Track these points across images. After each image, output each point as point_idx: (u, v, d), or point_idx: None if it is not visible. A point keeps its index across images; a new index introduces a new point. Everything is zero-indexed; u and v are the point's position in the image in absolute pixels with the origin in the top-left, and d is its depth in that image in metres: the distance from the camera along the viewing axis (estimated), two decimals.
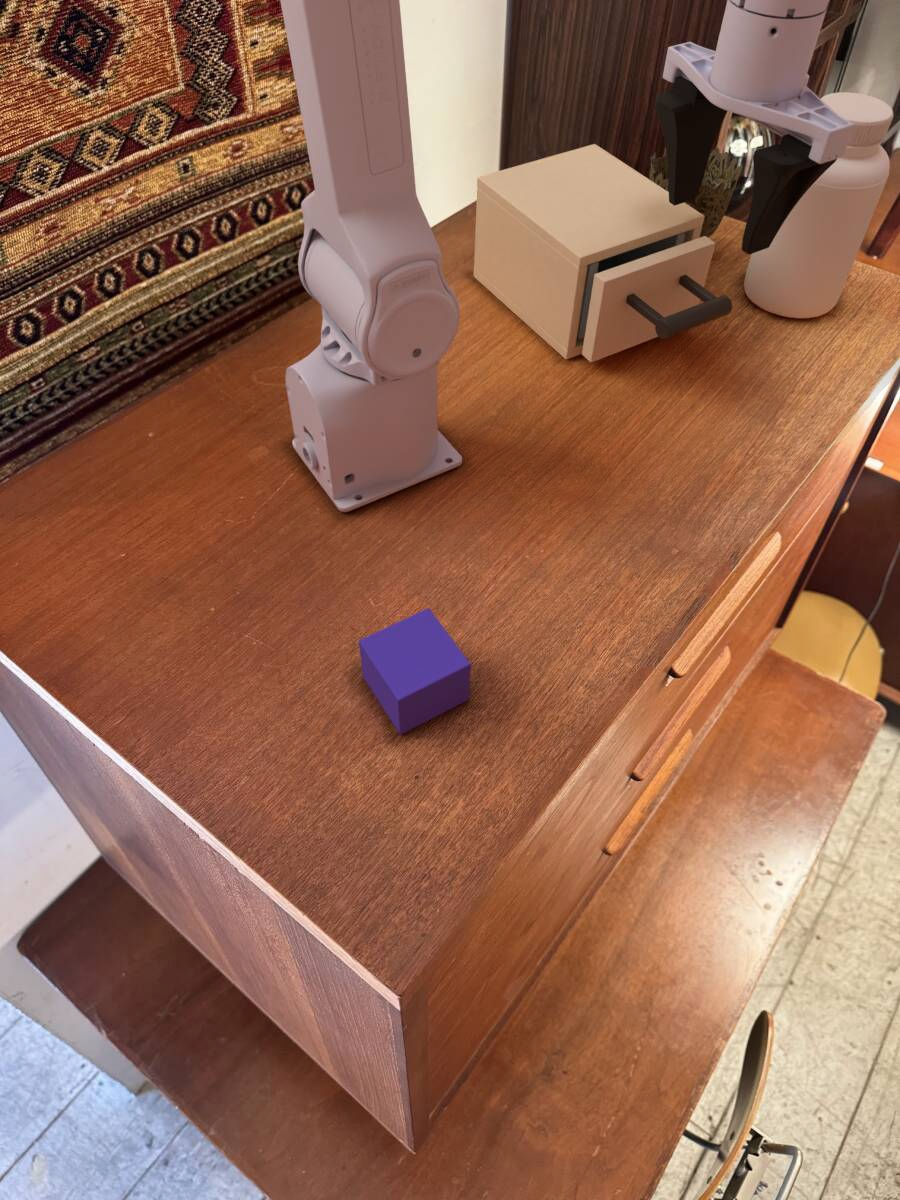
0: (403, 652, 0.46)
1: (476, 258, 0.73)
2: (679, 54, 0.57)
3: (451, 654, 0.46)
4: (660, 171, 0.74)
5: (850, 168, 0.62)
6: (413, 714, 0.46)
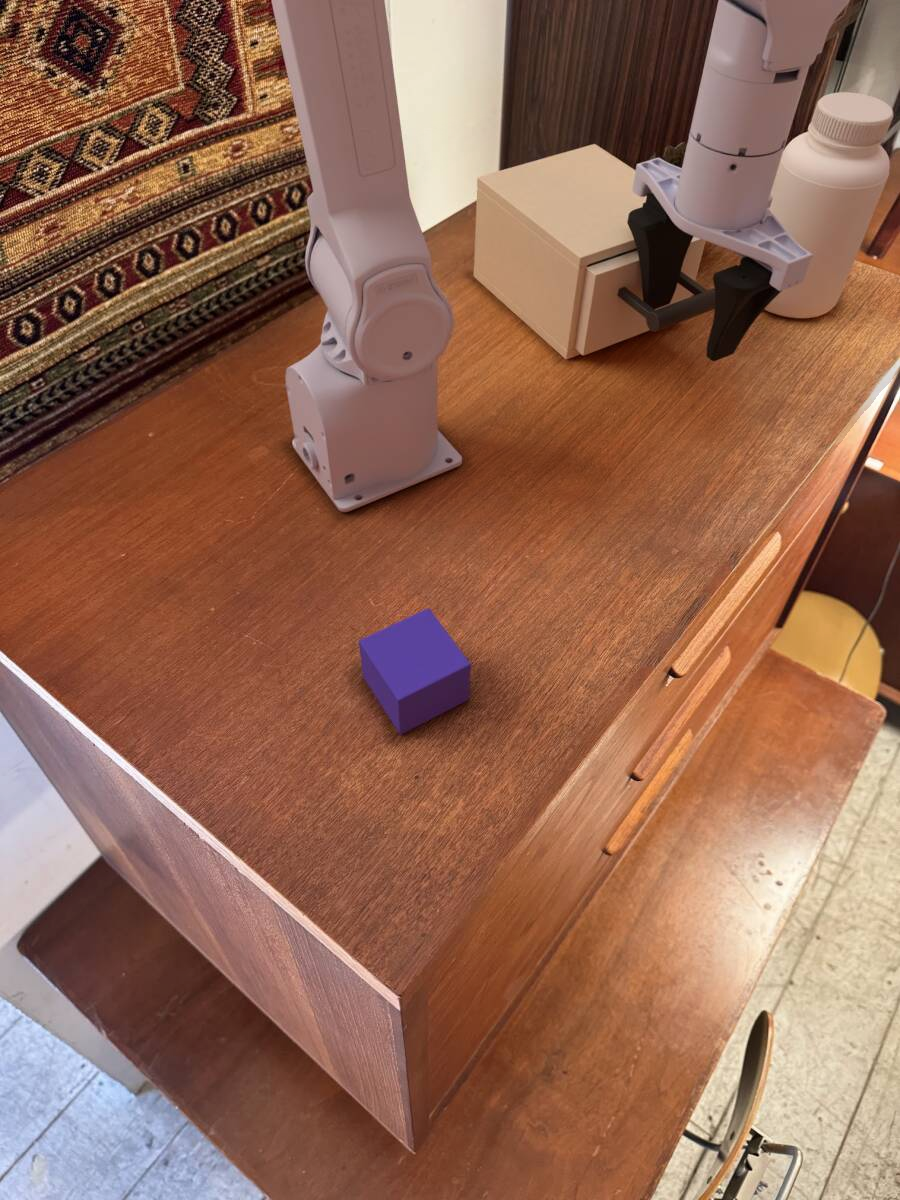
0: (403, 652, 0.46)
1: (476, 258, 0.73)
2: (647, 172, 0.58)
3: (451, 654, 0.46)
4: None
5: (850, 168, 0.62)
6: (413, 714, 0.46)
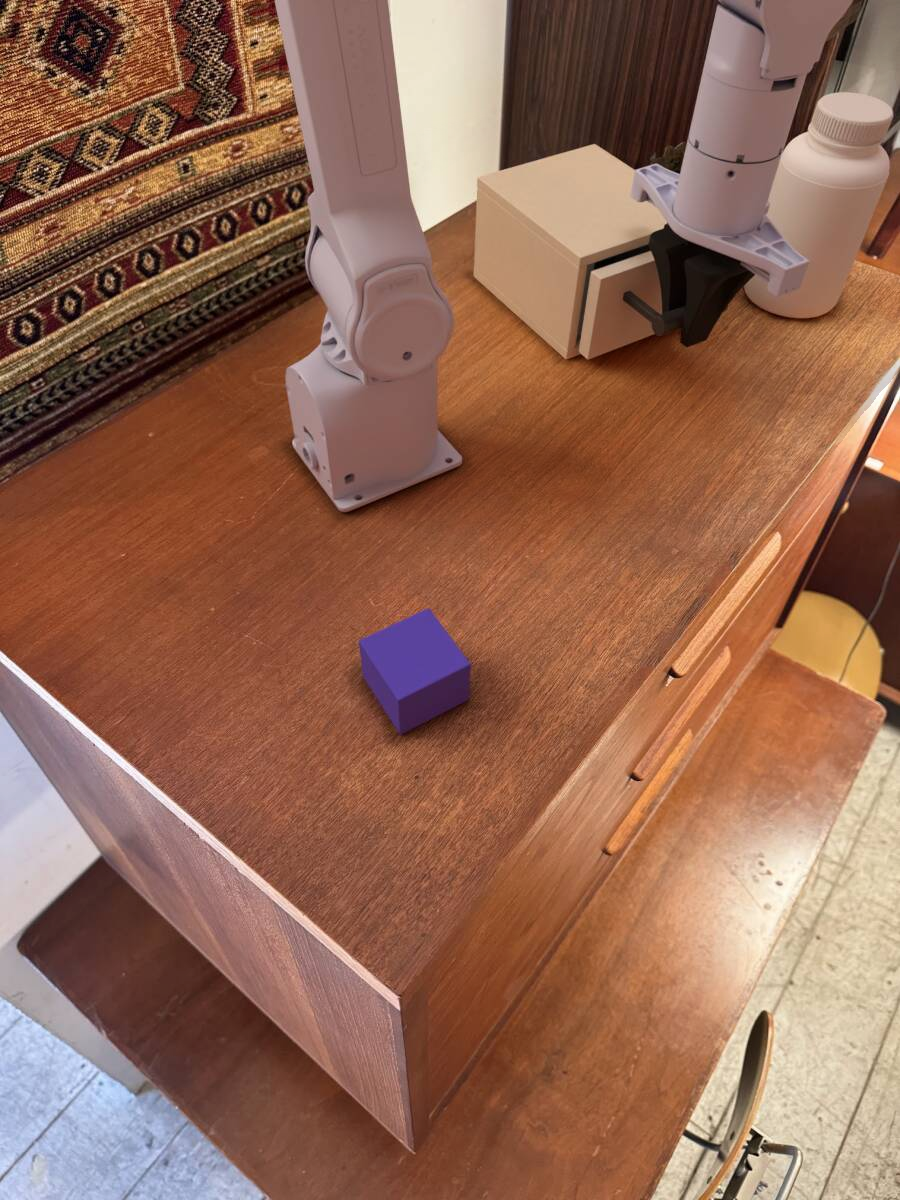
0: (403, 652, 0.46)
1: (476, 258, 0.73)
2: (645, 178, 0.59)
3: (451, 654, 0.46)
4: None
5: (850, 168, 0.62)
6: (413, 714, 0.46)
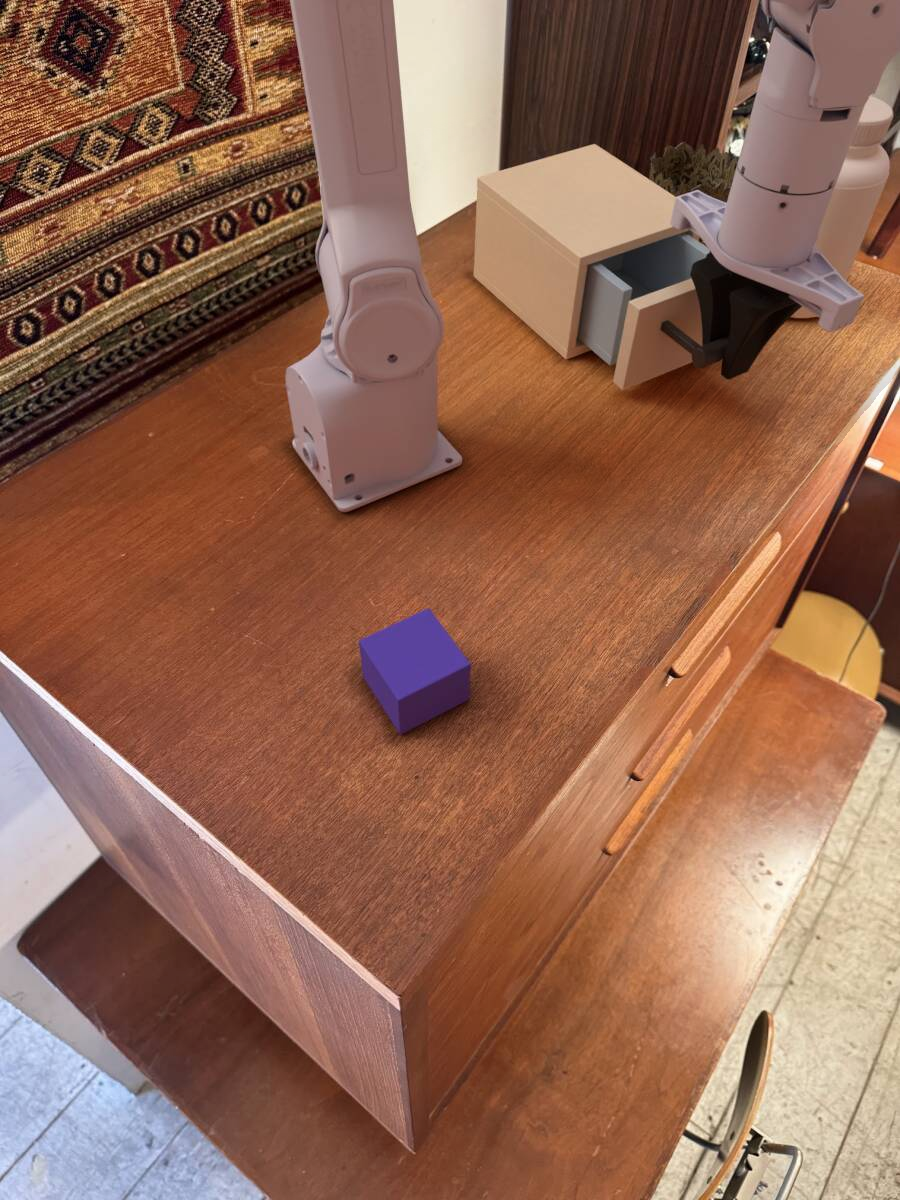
0: (403, 652, 0.46)
1: (476, 258, 0.73)
2: (687, 206, 0.57)
3: (451, 654, 0.46)
4: (660, 171, 0.74)
5: (850, 168, 0.62)
6: (413, 714, 0.46)
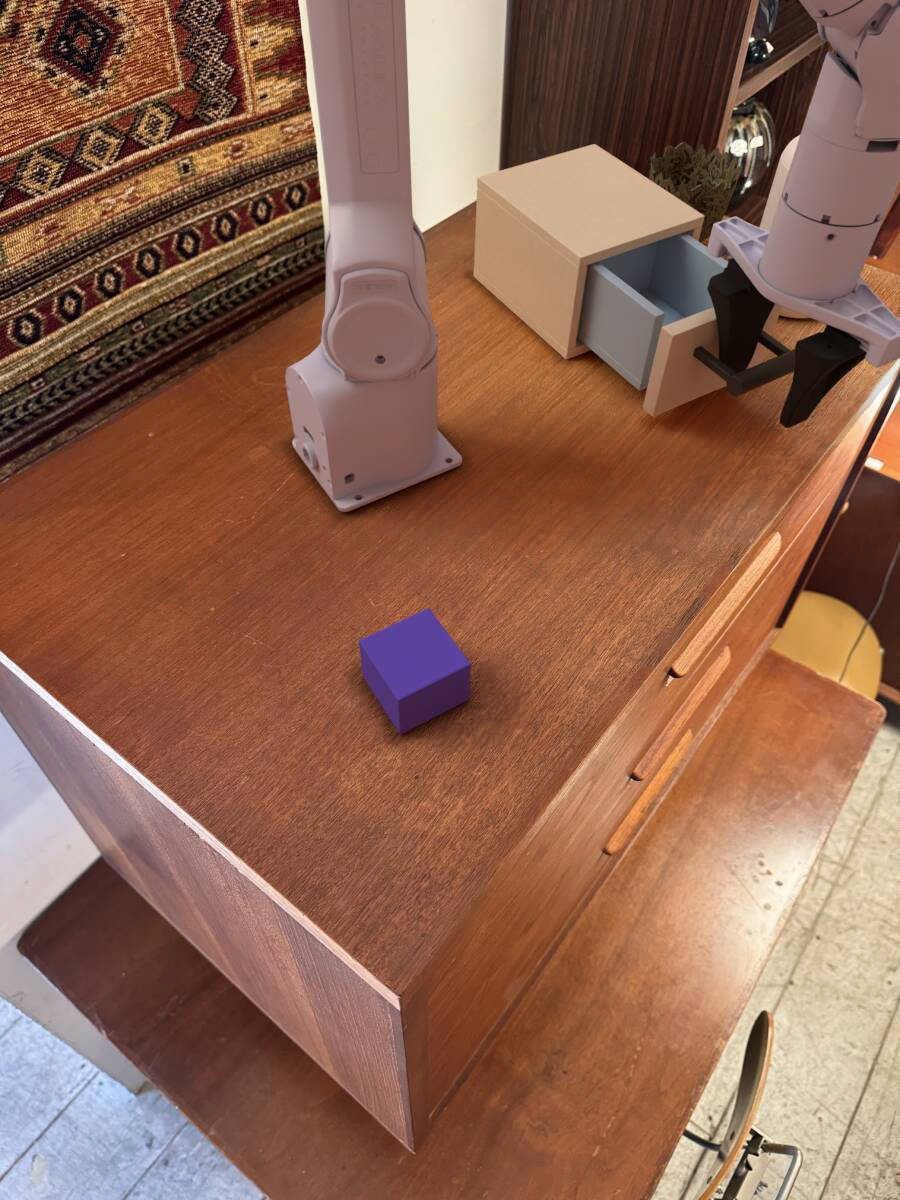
0: (403, 652, 0.46)
1: (476, 258, 0.73)
2: (725, 233, 0.55)
3: (451, 654, 0.46)
4: (660, 171, 0.74)
5: None
6: (413, 714, 0.46)
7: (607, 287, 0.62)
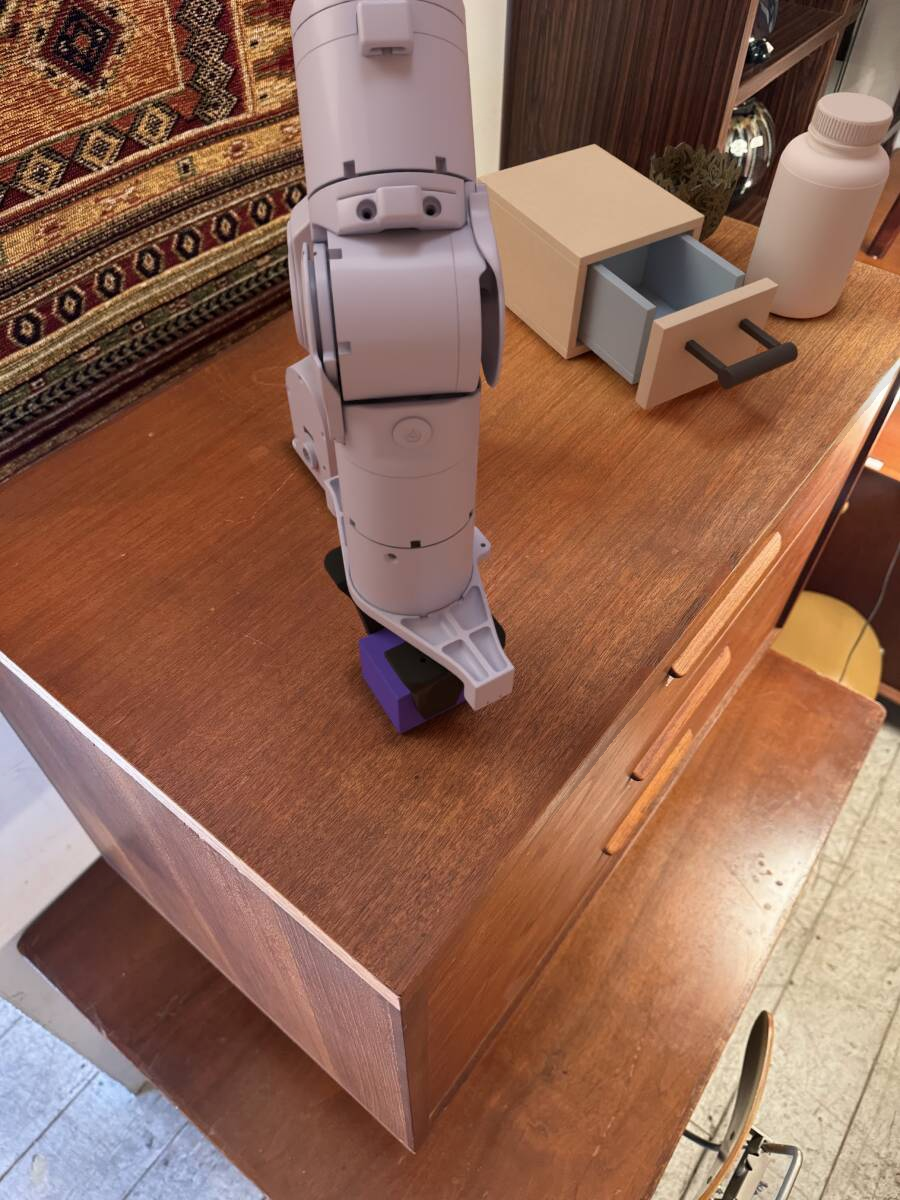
0: None
1: None
2: (333, 497, 0.43)
3: None
4: (660, 171, 0.74)
5: (850, 168, 0.62)
6: (412, 713, 0.46)
7: (600, 281, 0.62)
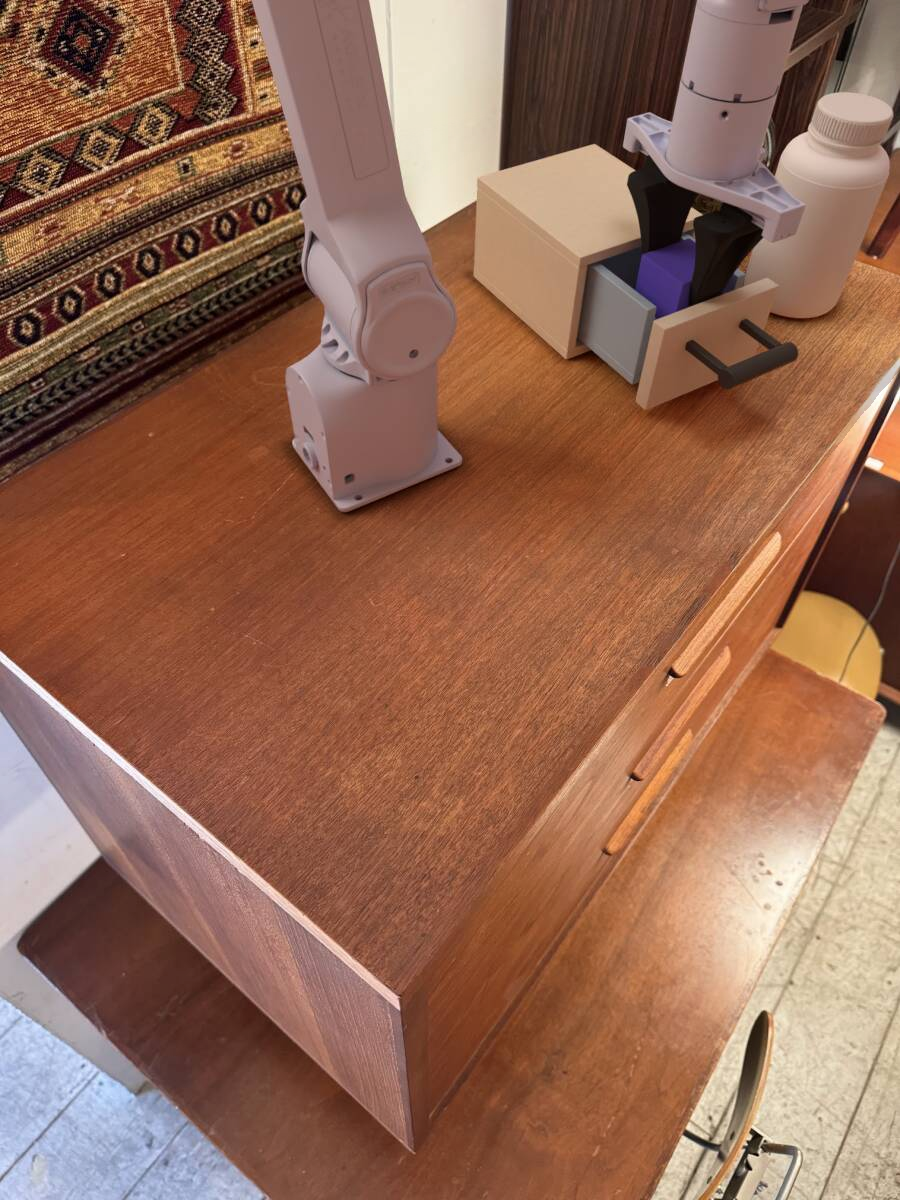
0: (678, 260, 0.60)
1: (476, 258, 0.73)
2: (638, 126, 0.57)
3: None
4: None
5: (850, 168, 0.62)
6: (685, 307, 0.60)
7: (600, 281, 0.62)
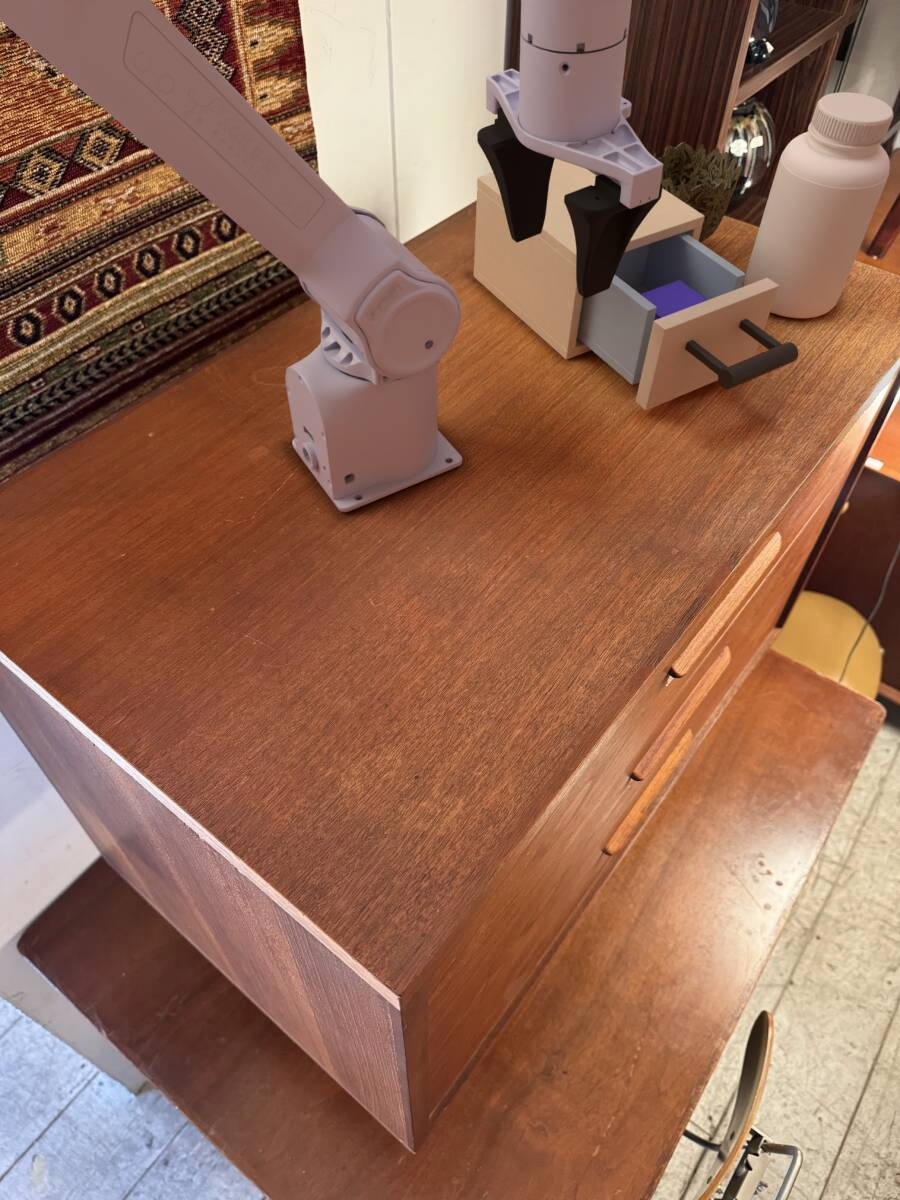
0: (668, 302, 0.63)
1: (476, 258, 0.73)
2: (496, 85, 0.52)
3: None
4: None
5: (850, 168, 0.62)
6: None
7: None
